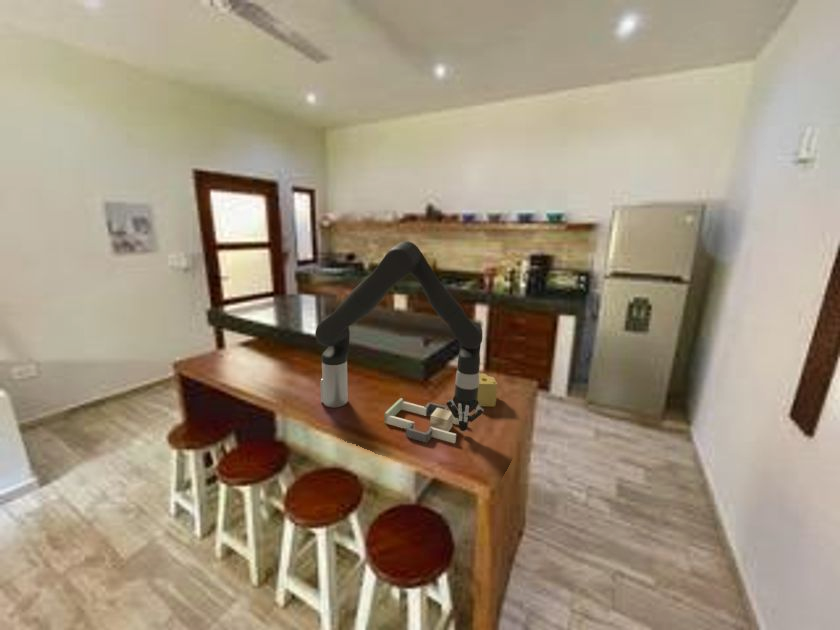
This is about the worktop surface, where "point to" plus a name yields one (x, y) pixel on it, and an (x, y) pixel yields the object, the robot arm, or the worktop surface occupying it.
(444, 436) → the trap box
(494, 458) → the worktop surface
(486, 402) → the cheese
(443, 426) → the birch block
